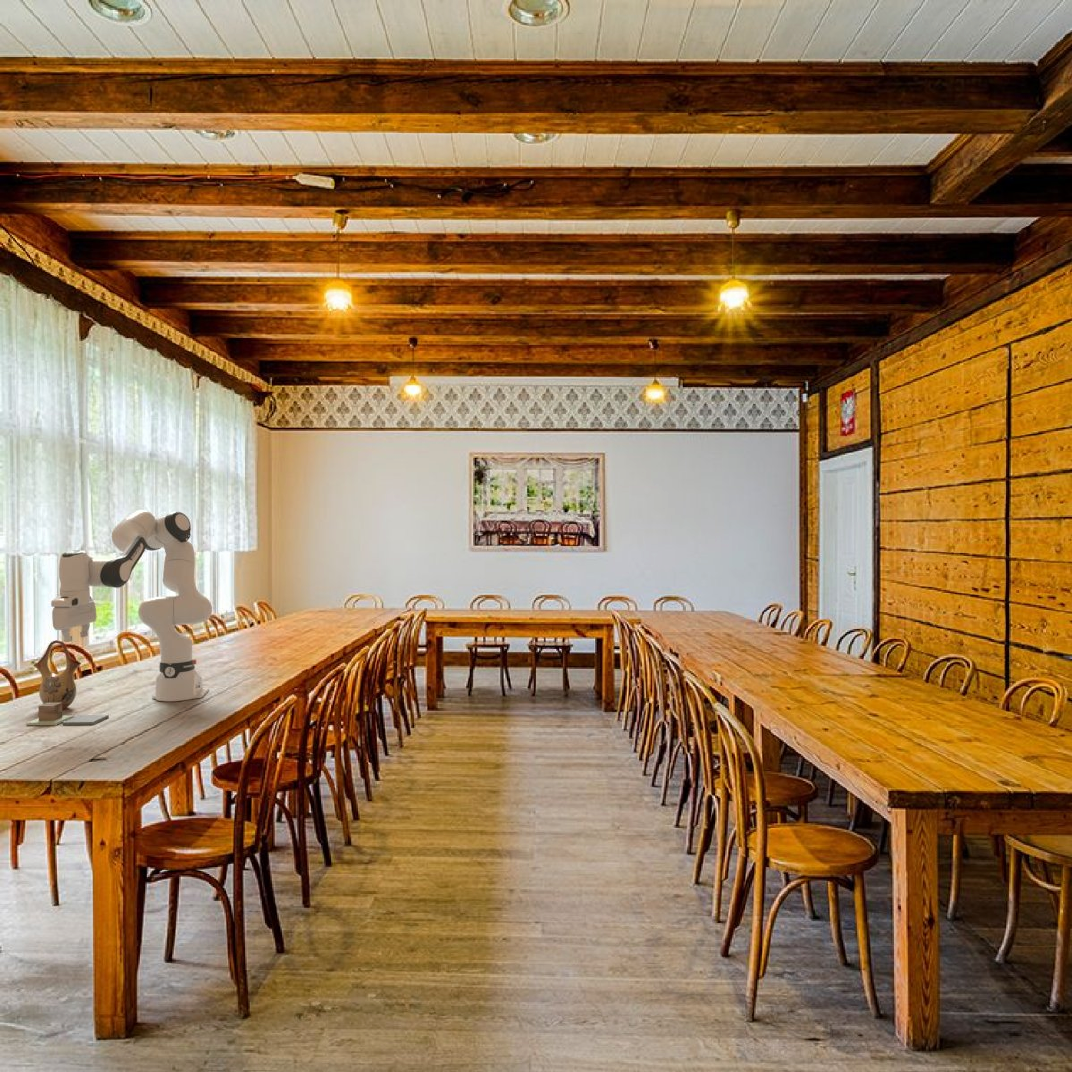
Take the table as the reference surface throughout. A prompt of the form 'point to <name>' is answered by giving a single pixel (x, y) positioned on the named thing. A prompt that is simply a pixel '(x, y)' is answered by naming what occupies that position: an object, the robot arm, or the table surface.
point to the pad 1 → (55, 722)
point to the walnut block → (50, 711)
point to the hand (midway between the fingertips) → (76, 639)
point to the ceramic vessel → (57, 679)
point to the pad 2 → (85, 719)
